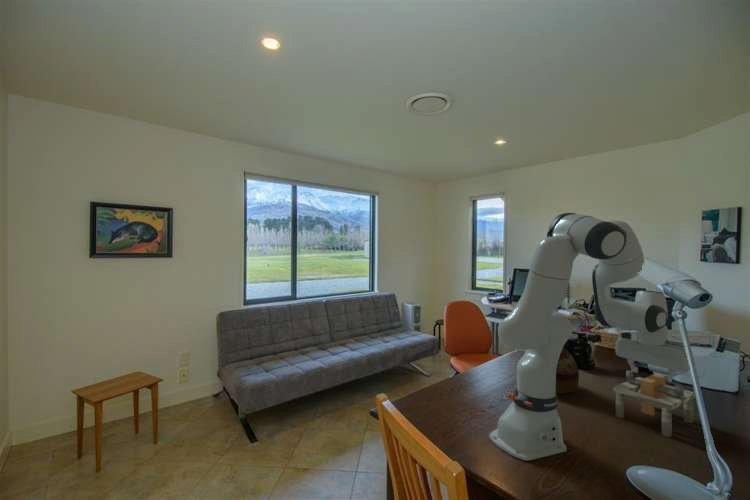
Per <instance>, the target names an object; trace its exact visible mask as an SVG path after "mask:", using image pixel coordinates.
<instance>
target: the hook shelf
mask: <svg viewBox="0 0 750 500" xmlns="http://www.w3.org/2000/svg"><path fill="white" fill-rule="evenodd" d="M625 376H626V377H625V380H626V381H625V382H622V383H619V384H616V385H614V386H613V392H614V393H615V416H616V417H618V418H620V419H624V418H625V396H627V397H630V398H632V399H636V400H638V401H637V403H638V406H640V407H641V401H644V402H647V403H650V404H653V405H656V406H659V407H661V409H660V410H661V435H663V437H667V438H671V437H672V436H673V423H672V422H673V416H672V415H673V414H672V413H673V410H675V409H677V408H679V407H680V406H683V421H684V423H685V422H686V423H688V422H689V424H694V423H693V422H694V418H695V417H694V416H695V415H694V399H695V394H696V393H695V392H693V391H690V390H686V389H685V387H684V385H682V384H675V386H672V385H669V384H666V383H665V387H662V386H657V387H655V388H654V390H655V391H658V392H661V393H665V394H666V396H664V397H662V398H659V399H656V398H653V397H650V396H647V395H644V394H641V379H644V378H645V377H642V376H637V377H635V378H634V372H631V370H626V371H625ZM694 393H695V394H694Z"/></svg>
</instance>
